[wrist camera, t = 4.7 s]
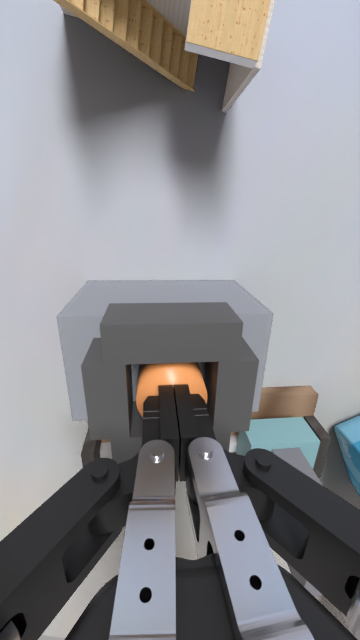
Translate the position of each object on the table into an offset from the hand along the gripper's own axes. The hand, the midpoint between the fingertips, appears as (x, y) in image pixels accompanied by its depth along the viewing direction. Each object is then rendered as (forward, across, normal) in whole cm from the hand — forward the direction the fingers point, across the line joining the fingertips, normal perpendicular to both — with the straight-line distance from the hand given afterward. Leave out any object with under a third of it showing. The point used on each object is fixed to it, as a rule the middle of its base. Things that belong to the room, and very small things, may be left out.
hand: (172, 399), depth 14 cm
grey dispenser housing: (+11, 0, 0) cm, 11 cm away
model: (+12, +1, -17) cm, 21 cm away
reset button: (+2, 0, 0) cm, 2 cm away
